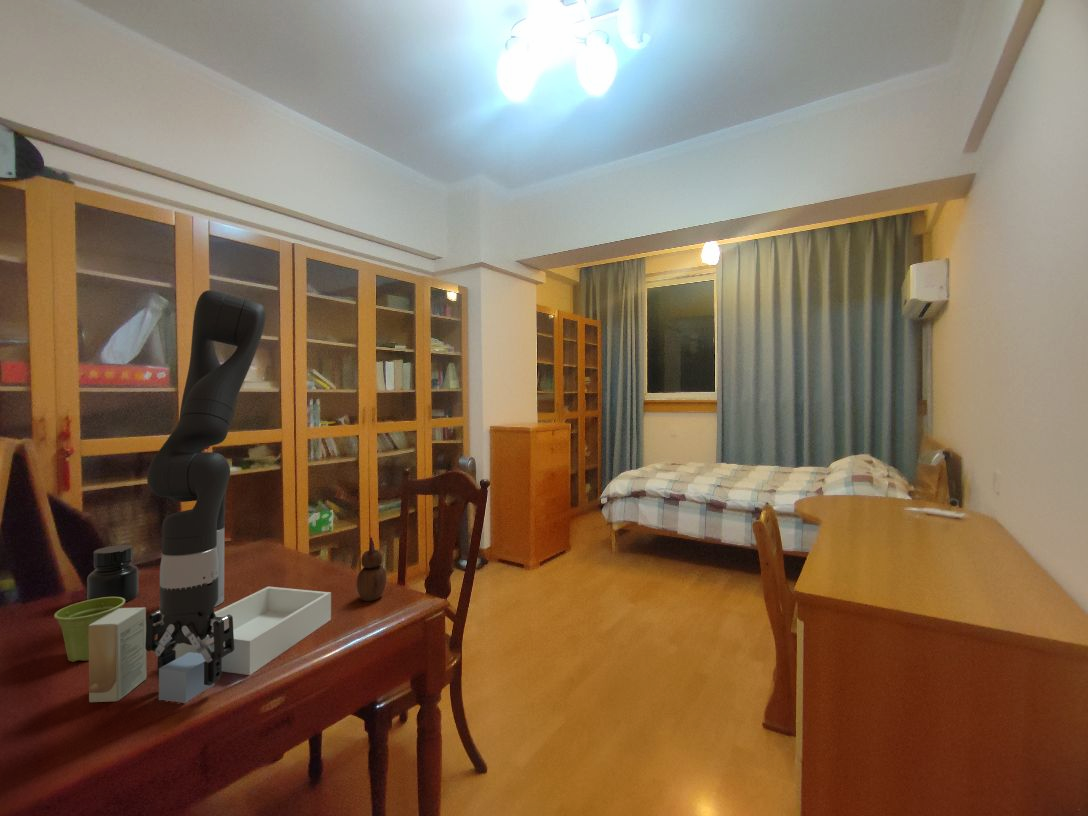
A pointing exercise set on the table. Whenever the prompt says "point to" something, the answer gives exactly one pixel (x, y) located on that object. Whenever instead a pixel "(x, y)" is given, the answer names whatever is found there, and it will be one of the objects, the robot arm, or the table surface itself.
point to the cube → (182, 678)
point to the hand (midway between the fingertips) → (189, 679)
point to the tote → (268, 626)
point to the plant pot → (83, 623)
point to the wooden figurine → (371, 575)
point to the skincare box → (117, 654)
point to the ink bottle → (113, 574)
